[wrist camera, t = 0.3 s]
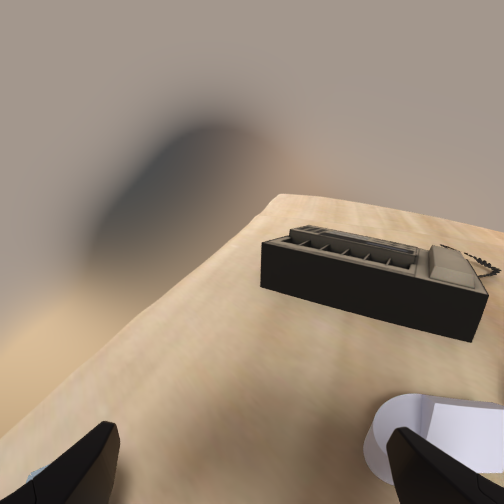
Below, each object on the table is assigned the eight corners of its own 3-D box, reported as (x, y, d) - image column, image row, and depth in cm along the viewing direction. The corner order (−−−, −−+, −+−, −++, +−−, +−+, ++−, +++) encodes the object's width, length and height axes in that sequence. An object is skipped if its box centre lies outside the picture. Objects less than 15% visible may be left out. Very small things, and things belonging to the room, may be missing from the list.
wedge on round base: (479, 423, 23) (371, 409, 28) (507, 377, 21) (389, 360, 26) (483, 491, 16) (353, 480, 20) (523, 449, 13) (376, 437, 18)
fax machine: (495, 272, 59) (504, 234, 56) (521, 356, 32) (546, 300, 28) (327, 235, 81) (331, 199, 77) (260, 289, 54) (261, 235, 50)
